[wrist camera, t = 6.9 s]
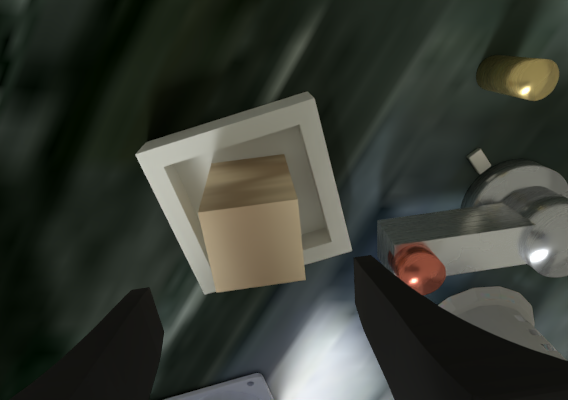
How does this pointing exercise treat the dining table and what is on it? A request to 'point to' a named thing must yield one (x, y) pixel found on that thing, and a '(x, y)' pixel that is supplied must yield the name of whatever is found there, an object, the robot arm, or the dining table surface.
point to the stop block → (252, 224)
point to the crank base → (516, 173)
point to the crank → (478, 239)
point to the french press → (500, 315)
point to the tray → (243, 145)
